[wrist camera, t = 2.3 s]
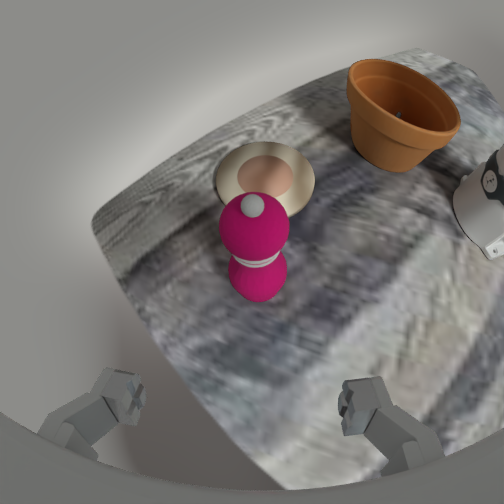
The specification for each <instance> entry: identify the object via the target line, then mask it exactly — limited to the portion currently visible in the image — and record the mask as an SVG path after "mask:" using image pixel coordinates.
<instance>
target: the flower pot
mask: <svg viewBox="0 0 504 504" xmlns="http://www.w3.org/2000/svg"><path fill="white" fill-rule="evenodd" d="M347 98H348V100H349V103H350V105H351V122H350V126H351V135H352V141H353V143H354V146H355V147H356V149H357V150H358V152H359V153H360V154H361V155H362V156H363V157H364V158H365V159H366V160H367V161H369V162H370V163H372V164H373V165H375V166H377V167H379V168H381V169H383V170H386V171H390V172H406V171H409V170H411V169H412V168H413V167H415V166H416V165H417V164H419V163H420V162H421V161H422V160H424V159H425V158H426V157H427V156H428V155H429V154H430V153H431V152H433V151H434V150H436V149H440V148H442V147H444V146H445V145H446V144H447V143H448V142H449V141H450V140H451V139H452V137H453V136H454V135H455V134H456V132H457V131H458V129H459V127H460V124H461V119H460V115H459V112H458V109H457V107H456V106H455V104H454V102H453V101H452V100H451V98H450V97H449V96H448V95H447V94H446V93H445V92H444V91H443V90H442V89H441V88H440V87H439V86H438V85H436V84H435V83H434V82H433V81H431V80H430V79H428V78H427V77H425V76H424V75H422V74H420V73H419V72H417V71H415V70H413V69H411V68H408V67H406V66H403V65H401V64H398V63H395V62H391V61H386V60H380V59H365V60H360V61H357V62H355V63H354V64H352V65H351V67H350V69H349V72H348V79H347ZM398 112H400V113H401V117H400V118H397V117H396V114H397V113H398Z"/></svg>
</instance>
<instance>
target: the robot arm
mask: <svg viewBox="0 0 504 504" xmlns="http://www.w3.org/2000/svg"><path fill="white" fill-rule="evenodd" d="M453 206H454V211H455V214H456V217H457V219H458V221H459V223H460V225H461V227H462V229H463V230H464V232H465V233H466V234H467V235H468V237H469V238H470V239H471V240H472V241H473V242H474V243H476V244H477V245H478V246H479V247H480V248H481V249H482V251H483V252H484V254H485V255H486V257H487V258H488V259H489V260H492V259H495V258H497V257H500V256H502V255H504V144H503V145H502V147H501V148H500V149H499V150H496V151H495V152H494V153H493V154H492V155H491V156H490V157H489V159H488V161H487V162H482V163H481V164H480V165H479V166H478V167H477V168H476V169H475V170H474V171H473V172H472V173H471V174H470V175H469V176H467V175H464V176H463V177H462V178H461V182H460V186H459V187H458V188H457V189H456V190H455V192H454V195H453ZM140 381H141V378H140V376H139V374H136V373H131V372H126V371H121V370H117V369H112V368H105V369H104V370H103V371H102V373H101V375H100V376H99V378H98V380H97V381H96V383H95V385H94V387H93V388H92V390H91V392H90V393H85V394H84V395H82V396H80V397H78V398H76V399H75V400H73V401H71V402H69V403H68V404H66V405H64V406H62V407H60V408H58V409H57V410H55V411H53V412H51V413H49V414H48V416H47V418H46V419H45V421H44V423H43V425H42V426H41V428H40V430H39V431H38V433H37V434H36V433H34V432H32V431H31V430H29V429H27V428H25V427H24V426H22V425H20V424H19V423H17V422H15V421H14V420H12V419H10V418H9V417H7V416H6V415H4V414H3V413H1V412H0V504H504V428H503V429H501V430H499V431H497V432H495V433H494V434H492V435H490V436H488V437H486V438H484V439H482V440H481V441H479V442H477V443H475V444H473V445H470V446H468V447H466V448H464V449H462V450H460V451H457V452H455V453H453V454H450V455H448V456H446V457H445V454H444V452H443V449H442V447H441V444H440V442H439V439H438V437H437V434H436V433H435V432H434V431H433V430H431V429H430V428H428V427H427V426H425V425H424V424H422V423H421V422H419V421H418V420H417V419H415V418H414V417H412V416H411V415H409V414H408V413H407V412H405V411H404V410H402V409H401V408H400V407H398V406H397V405H395V406H393V404H392V401H391V399H390V396H389V394H388V391H387V389H386V386H385V384H384V381H383V379H382V377H380V376H378V377H371V378H362V379H354V380H345V381H344V382H343V385H342V389H343V391H342V392H341V393H340V395H339V398H338V411H339V415H340V416H341V417H343V420H342V422H341V425H342V430H343V435H344V436H350V435H358V434H364V436H365V437H366V438H367V439H368V440H369V441H370V442H371V443H372V444H373V445H374V446H375V447H376V448H377V449H378V450H379V451H380V452H381V453H382V454H383V455H384V456H385V457H386V458H387V459H388V460H389V462H388V463H387V464H386V465H385V466H384V467H383V469H382V470H381V471H380V473H381V477H380V478H375V479H371V480H366V481H361V482H356V483H350V484H344V485H338V486H331V487H322V488H313V489H301V490H281V491H251V490H231V489H219V488H210V487H202V486H194V485H188V484H182V483H176V482H171V481H166V480H161V479H156V478H152V477H148V476H144V475H140V474H136V473H133V472H129V471H126V470H123V469H119V468H116V467H113V466H110V465H107V464H104V463H101V462H99V461H97V458H98V454H97V452H96V451H95V450H94V449H93V448H92V447H91V446H92V445H93V444H94V443H95V442H97V441H98V440H99V439H100V438H102V437H103V436H104V435H105V434H107V433H108V432H109V431H110V430H111V429H113V428H114V427H115V426H116V425H117V424H118V423H122V424H127V425H132V426H136V425H137V422H138V420H139V417H140V412H139V409H141V408H142V407H144V404H145V402H146V390H145V388H144V386H142V384H140Z"/></svg>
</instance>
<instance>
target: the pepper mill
mask: <svg viewBox="0 0 504 504" xmlns="http://www.w3.org/2000/svg"><path fill="white" fill-rule="evenodd" d="M219 232H220V236H221V240H222V242H223V243H224V245H225V247H226V248H227V249H228V250H229V251H230V252H231V253H232V256H231V259H230V262H229V267H228V271H229V278H230V281H231V283H232V285H233V287H234V288H235V289H236V290H237V291H238V292H239V293H240V294H241V295H242V296H243V297H244V298H246V299H248V300H250V301H253V302H263V301H267V300H269V299H271V298H272V297H274V296H275V295H276V293H277V292H278V291H279V290H280V288H281V287H282V286H283V284H284V282H285V279H286V275H287V265H286V260H285V258H284V256H283V254H282V252H281V251H280V250H281V249H282V247H283V246H284V244H285V242H286V241H287V237H288V234H289V219H288V216H287V213H286V211H285V209H284V207H283V206H282V205H281V203H280V202H279V201H278V200H277V199H275V198H274V197H272V196H270V195H268V194H265V193H261V192H247V193H243V194H240V195H238V196H236V197H234V198H233V199H232V200H231V201H230V202H229V203H228V204H227V205H226V206H225V208H224V209H223V212H222V214H221V217H220V221H219Z"/></svg>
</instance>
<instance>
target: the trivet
mask: <svg viewBox="0 0 504 504" xmlns="http://www.w3.org/2000/svg"><path fill="white" fill-rule="evenodd" d="M314 183H315V178H314V172H313V169H312V167H311V165H310V163H309V162H308V161H307V159H306V158H305V157H304V156H303V155H302V154H301V153H299V152H298V151H296V150H295V149H293V148H291V147H289V146H286V145H284V144H280V143H275V142H255V143H250V144H247V145H244V146H241V147H239V148H237V149H236V150H234V151H232V152H231V153H230V154H229V155H228V156H227V157H226V158H225V159H224V160H223V161H222V163H221V164H220V166H219V168H218V171H217V175H216V185H217V190H218V193H219V196H220V198H221V200H222V202H223V203H224V205H225V206H226V205H227V204H228V203H229V202H230V201H231V200H232V199H233V198H234V197H236V196H238V195H240V194H243V193H247V192H261V193H265V194H268V195H270V196H272V197H274V198H275V199H277V200H278V201H279V202H280V203H281V205H282V206H283V207H284V209H285V211H286V213H287V216H288V218H290V217H292V216H294V215H295V214H297V213H298V212H300V211H301V210H302V209H303V208H304V207H305V206H306V205H307V203H308V202H309V200H310V198H311V196H312V193H313V189H314Z"/></svg>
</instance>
